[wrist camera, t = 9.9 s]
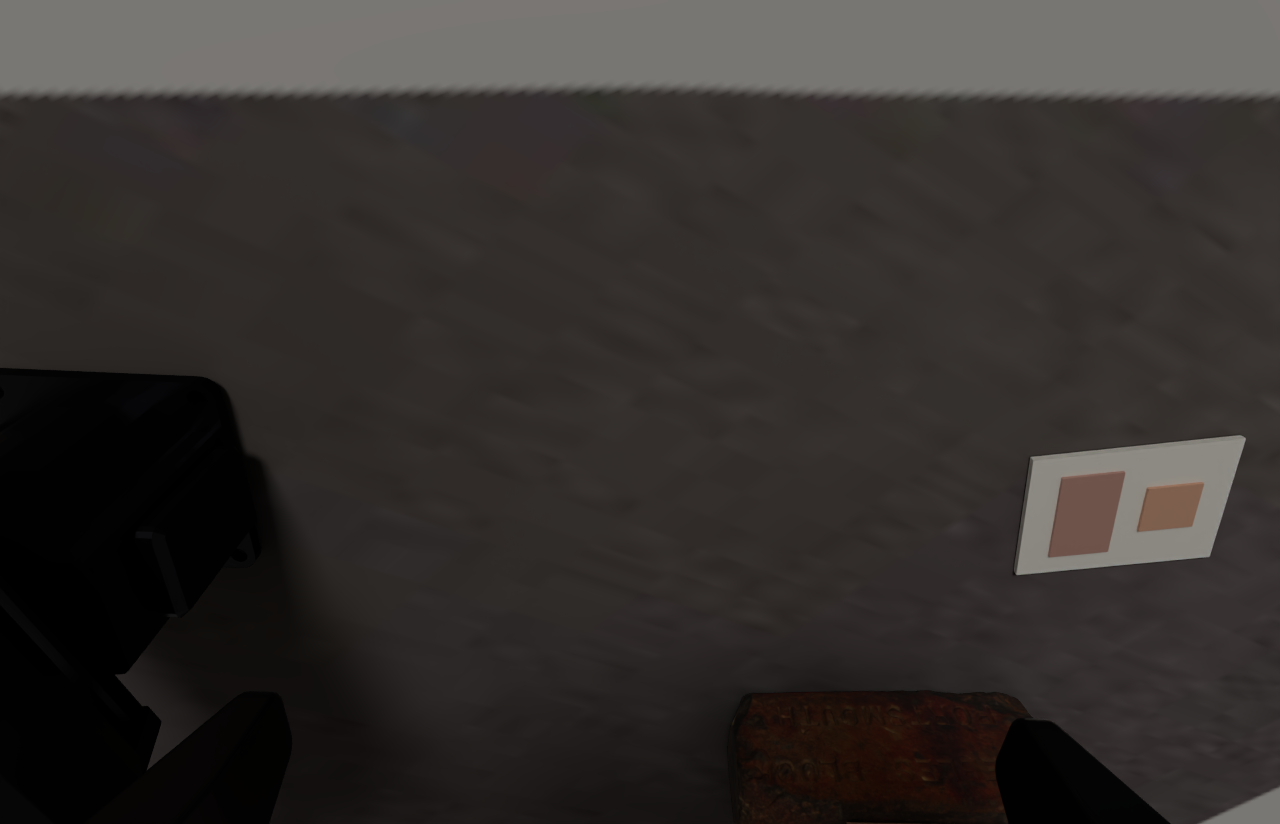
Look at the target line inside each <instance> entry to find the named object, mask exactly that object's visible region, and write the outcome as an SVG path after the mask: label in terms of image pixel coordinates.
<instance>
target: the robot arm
mask: <svg viewBox="0 0 1280 824" xmlns="http://www.w3.org/2000/svg"><path fill="white" fill-rule="evenodd" d="M0 387H1V388H2V390H3V391H2V390H1V389H0V824H269V822H270V819H271V816H272V813H273V809H274V806H275V803H276V800H277V797H278V794H279V790H280V787H281V784H282V781H283V778H284V775H285V771H286V768H287V765H288V762H289V759H290V755H291V750H292V735H291V731H290V727H289V723H288V720H287V716H286V712H285V709H284V705H283V701H282V699H281V697H280V696H279V695H278V694H277V693H274V692H254V691H250V692H244V693H242V694H240V695H238V696H237V697H235V698H234V699H233V700H232V701H231V702H229V703H228V704H227V705H226V706H225V707H223V708H222V709H221V710H220V711H218V712H217V713H216V714H215V715H214V716H212V717H211V718H210V719H209V720H208V721H206V722H205V723H204V724H203V725H202V726H200V727H199V728H198V729H197V730H195V731H194V732H193V733H192V734H191V735H189V736H188V737H187V738H186V739H185V740H183V741H182V742H181V743H180V744H179V745H177V746H176V747H175V748H174V749H172V750H171V751H170V752H169V753H168V754H166V755H165V756H164V757H163V758H162V759H160V760H159V761H158V762H157V763H156V764H154V765H153V766H152V767H151V768H149V769H148V770H147V767H148V764H149V761H150V758H151V755H152V751H153V748H154V745H155V742H156V739H157V736H158V732H159V729H160V726H161V720H160V719H159V718H158V717H157V716H156V714H155V713H154V712H153V711H152V710H151V709H150V708H149V707H148V706H142V705H141V704H140V703H139V702H138V701H137V700H136V699H135V697H134V696H133V695H132V694H131V693H130V692H129V691H128V689H127V688H126V687H125V686H124V685H123V684H122V683H121V681H120V680H119V679H118V678H117V677H116V676H115V675H114V674H125V673H126V672H127V671H128V670H129V669H130V668H131V667H132V665H133V664H134V663H135V662H136V660H137V659H138V658H139V656H140V655H141V654H142V653H143V651H144V650H145V649H146V647H147V646H148V645H149V643H150V642H151V641H152V640H153V638H154V637H155V636H156V634H157V633H158V632H159V631H160V629H161V628H162V627H163V625H164V624H165V623H166V622H167V620H168V619H169V618H170V617H183V616H184V615H185V614H186V613H187V612H188V611H189V610H190V609H191V608H192V607H193V606H194V604H195V603H196V602H197V600H198V599H199V598H200V596H201V595H202V594H203V592H204V591H205V590H206V588H207V587H208V586H209V584H210V583H211V582H212V580H213V579H214V578H215V576H216V575H217V574H218V572H219V571H220V570H221V568H222V567H233V568H245V567H249V566H251V565H253V564H254V562H255V561H256V559H257V558H258V556H259V555H260V553H261V546H260V542H259V538H258V534H257V530H256V526H255V523H256V521H257V516H256V512H255V508H254V504H253V500H252V496H251V492H250V488H249V484H248V480H247V476H246V472H245V468H244V464H243V460H242V456H241V454H240V452H239V451H238V450H237V448H236V447H235V443H234V439H233V435H232V431H231V427H230V423H229V419H228V415H227V411H226V407H225V403H224V399H223V395H222V392H221V390H220V388H219V386H218V385H217V384H216V383H215V382H213V381H212V380H210V379H208V378H204V377H198V376H175V375H152V374H128V373H105V372H82V371H58V370H35V369H12V368H0ZM195 391H197V392H200V393H201V394H203V395H204V397H205V399H206V401H205V400H201V399H200V398H199V397H197V395H196V394H195ZM238 549H240V550H243V551H244V552H245V553H242V552H241V551H239V550H238ZM146 770H147V771H146ZM995 775H996V780H997V784H998V788H999V791H1000V795H1001V799H1002V802H1003V806H1004V809H1005V813H1006V816H1007V820H1008V824H1170V823H1169V822H1168V821H1167V820H1166V819H1165V818H1163V817H1162V816H1161V815H1160V814H1159V813H1158V812H1157V811H1155V810H1154V809H1153V808H1152V807H1151V806H1150V805H1149V804H1147V803H1146V802H1145V801H1144V800H1143V799H1142V798H1141V797H1139V796H1138V795H1137V794H1136V793H1135V792H1134V791H1133V790H1131V789H1130V788H1129V787H1128V786H1127V785H1126V784H1124V783H1123V782H1122V781H1121V780H1120V779H1119V778H1118V777H1116V776H1115V775H1114V774H1113V773H1112V772H1111V771H1110V770H1108V769H1107V768H1106V767H1105V766H1104V765H1103V764H1102V763H1100V762H1099V761H1098V760H1097V759H1096V758H1095V757H1093V756H1092V755H1091V754H1090V753H1089V752H1088V751H1087V750H1085V749H1084V748H1083V747H1082V746H1081V745H1080V744H1079V743H1077V742H1076V741H1075V740H1074V739H1073V738H1072V737H1071V736H1069V735H1068V734H1067V733H1066V732H1065V731H1064V730H1063V729H1061V728H1060V727H1059V726H1058V725H1057V724H1055V723H1054V722H1052V721H1050V720H1047V719H1041V718H1017V719H1016V720H1014V721H1013V722H1012V723H1011V725H1010V727H1009V730H1008V732H1007V734H1006V737H1005V739H1004V742H1003V744H1002V746H1001V749H1000V751H999V753H998V756H997V758H996V763H995Z"/></svg>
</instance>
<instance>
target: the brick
mask: <svg viewBox="0 0 1280 824" xmlns="http://www.w3.org/2000/svg"><path fill="white" fill-rule="evenodd" d="M1017 718H1033V717H1031V716H1030V714H1029V713H1028V712H1027V710H1026V709H1025V707H1024V706H1023V704H1022V703H1021V702H1020V701H1019V700H1018V699H1017V698H1014V697H1011V696H1009V695H1007V694H1003V693H998V692H992V693H984V692H974V693H964V694H955V693H941V692H934V691H927V690H924V691H916V692H914V691H890V692H869V691H853V692H790V693H755V694H747V695H745V696H743V698H742V699H741V704H740V707H739V709H738V710H737V713H736V716H735V718H734V720H733V723H732V724H731V728H730V733H729V741H728V746H727V747H728V766H729V778H730V791H731V800H732V809H733V817H734V823H735V824H847V822H856V823H907V824H1008V820H1007V816H1006V813H1005V809H1004V806H1003V802H1002V799H1001V795H1000V791H999V788H998V784H997V780H996V775H995V763H996V758H997V756H998V753H999V751H1000V749H1001V746H1002V744H1003V742H1004V739H1005V737H1006V734H1007V732H1008V730H1009V727H1010V725H1011V723H1012V722H1013V721H1014V720H1016V719H1017Z"/></svg>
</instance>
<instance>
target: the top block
mask: <svg viewBox="0 0 1280 824" xmlns="http://www.w3.org/2000/svg"><path fill="white" fill-rule="evenodd" d="M847 824H907V823H856V822H847Z"/></svg>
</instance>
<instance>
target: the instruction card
mask: <svg viewBox="0 0 1280 824" xmlns="http://www.w3.org/2000/svg"><path fill="white" fill-rule="evenodd" d="M1245 440H1246V438H1244V437H1243V436H1241V435H1238V436H1228V437H1218V438H1209V439H1199V440H1190V441H1180V442H1170V443H1161V444H1151V445H1142V446H1132V447H1122V448H1113V449H1103V450H1094V451H1084V452H1074V453H1065V454H1055V455H1046V456H1036V457H1030V462H1029V469H1028V476H1027V483H1026V490H1025V496H1024V503H1023V510H1022V517H1021V524H1020V530H1019V537H1018V544H1017V551H1016V558H1015V564H1014V572H1015V574H1016V575H1022V574H1033V573H1044V572H1054V571H1065V570H1075V569H1086V568H1096V567H1107V566H1118V565H1128V564H1139V563H1149V562H1160V561H1171V560H1181V559H1192V558H1202V557H1210V554H1211V550H1212V547H1213V544H1214V541H1215V537H1216V534H1217V531H1218V528H1219V524H1220V521H1221V518H1222V515H1223V511H1224V508H1225V505H1226V502H1227V498H1228V495H1229V492H1230V488H1231V485H1232V482H1233V479H1234V475H1235V472H1236V469H1237V466H1238V462H1239V459H1240V456H1241V453H1242V449H1243V446H1244V443H1245Z"/></svg>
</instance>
